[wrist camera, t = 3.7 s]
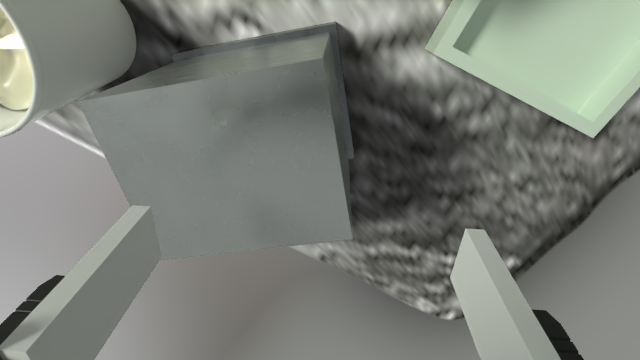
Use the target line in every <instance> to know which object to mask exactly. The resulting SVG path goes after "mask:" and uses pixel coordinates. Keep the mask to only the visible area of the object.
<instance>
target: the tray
mask: <svg viewBox="0 0 640 360" xmlns="http://www.w3.org/2000/svg"><path fill="white" fill-rule="evenodd" d="M425 49H426V50H428V51H429V52H431V53H433V54H434V55H436V56H438V57H440V58H442V59H444V60H446V61H448V62H450V63H451V64H453V65H455V66H457V67H459V68H461V69H463V70H465V71H467V72H468V73H470V74H472V75H474V76H476V77H478V78H480V79H482V80H484V81H486V82H487V83H489V84H491V85H493V86H495V87H497V88H499V89H501V90H503V91H505V92H506V93H508V94H510V95H512V96H514V97H516V98H518V99H520V100H522V101H523V102H525V103H527V104H529V105H531V106H533V107H535V108H537V109H539V110H541V111H542V112H544V113H546V114H548V115H550V116H552V117H554V118H556V119H558V120H560V121H561V122H563V123H565V124H567V125H569V126H571V127H573V128H575V129H577V130H578V131H580V132H582V133H584V134H586V135H588V136H590V137H592V138H594V137H595V136H596V135H597V134H598V132H599V131H600V130H601V129H602V128H603V127H604V126H605V125H606V124H607V123H608V121H609V120H610V119H611V118H612V117H613V116H614V115H615V114H616V113H617V112H618V111H619V109H620V108H621V107H622V106H623V105H624V104H625V103H626V102H627V101H628V100H629V98H630V97H631V96H632V95H633V94H634V93H635V92H636V91H637V90H638V89H639V88H640V0H452V2H451V4H450V5H449V7H448V9H447V11H446V12H445V14H444V16H443V18H442V19H441V21H440V23H439V24H438V26H437V28H436V30H435V31H434V33H433V35H432V37H431V38H430V40H429V42H428V44H427V45H426V47H425Z"/></svg>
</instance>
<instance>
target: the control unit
mask: <svg viewBox="0 0 640 360" xmlns="http://www.w3.org/2000/svg"><path fill="white" fill-rule="evenodd" d="M171 57H172V60H173V63H171V64H169V65H166V66H164V67H161V68H159V69H156V70H154V71H151V72H149V73H147V74H144V75H142V76H139V77H137V78H134V79H132V80H129V81H127V82H124V83H122V84H120V85H117V86H115V87H112V88H110V89H107V90H105V91H102V92H100V93H98V94H95V95H93V96H90V97H88V98H85V99H83V100H80V101H78V103H79V105H80V107H81V109H82V111H83V113H84V115H85V117H86V119H87V121H88V123H89V125H90V127H91V129H92V131H93V133H94V135H95V137H96V139H97V141H98V143H99V145H100V147H101V149H102V151H103V153H104V155H105V157H106V159H107V161H108V162H109V164H110V166H111V168H112V170H113V172H114V174H115V176H116V178H117V180H118V182H119V184H120V186H121V188H122V190H123V192H124V194H125V196H126V198H127V200H128V202H129V204H130V206H132V205H136V206H150V207H151V211H152V215H153V220H154V224H155V229H156V233H157V237H158V242H159V246H160V251H161V255H162V257H161V259H160V260H168V259H177V258H187V257H196V256H205V255H213V254H222V253H232V252H241V251H250V250H259V249H268V248H277V247H286V246H295V245H304V244H314V243H323V242H332V241H341V240H350V239H353V236H352V217H351V198H350V179H349V160H348V159H354V158H355V157H354V147H353V140H352V133H351V126H350V119H349V112H348V105H347V98H346V91H345V84H344V77H343V70H342V63H341V56H340V49H339V42H338V35H337V28H336V22H331V23H326V24H321V25H315V26H310V27H305V28H300V29H294V30H289V31H284V32H279V33H273V34H268V35H263V36H258V37H252V38H247V39H242V40H237V41H231V42H226V43H221V44H216V45H210V46H205V47H200V48H195V49H189V50H184V51H180V52H177V53H174V54H171Z"/></svg>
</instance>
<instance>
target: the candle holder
mask: <svg viewBox="0 0 640 360" xmlns="http://www.w3.org/2000/svg"><path fill="white" fill-rule="evenodd" d="M135 53H136V33H135V29H134V25H133V23H132V20H131V18H130V15H129V13H128V12H127V10H126V8H125V7H124V5H123V4H122V2H121V1H120V0H0V137H5V136H8V135H11V134H13V133H15V132H17V131H19V130H21V129H22V128H23V127H25V126H26V125H28V124H30V123H32V122H34V121H36V120H38V119H40V118H42V117H44V116H46V115H48V114H50V113H51V112H53V111H55V110H57V109H59V108H61V107H63V106H65V105H67V104H69V103H71V102H73V101H75V100H77V99H79V98H81V97H83V96H85V95H87V94H89V93H91V92H93V91H95V90H97V89H99V88H101V87H103V86H105V85H107V84H109V83H110V82H112V81H114V80H116V79H118V78H119V77H121V76H122V75H123V74H124V73H125V72H126V71H127V70H128V69H129V68H130V66H131V64H132V63H133V60H134V57H135Z"/></svg>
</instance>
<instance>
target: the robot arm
mask: <svg viewBox="0 0 640 360" xmlns="http://www.w3.org/2000/svg"><path fill="white" fill-rule="evenodd" d="M161 257H162V255H161V251H160V246H159V242H158V237H157V233H156V229H155V224H154V220H153V215H152V211H151V207H150V206H136V205H132V206H131V207H130V208H129V209H128V210H127V211H126V213H125V214H124V215H123V216H122V217H121V218H120V219H119V220H118V221H117V222H116V223H115V224H114V225H113V226H112V227H111V228H110V230H109V231H108V232H107V233H106V234H105V235H104V236H103V237H102V238H101V239H100V240H99V241H98V242H97V243H96V244H95V245H94V247H93V248H92V249H91V250H90V251H89V252H88V253H87V254H86V255H85V256H84V257H83V258H82V259H81V261H79V262H78V263H77V264H76V266H75V267H74V268H73V269H72V270H71V271H70V272H69V273H68V274H67V275H66V276H60V275H56V276H54V277H53V278H52V279H50V280H48V281H46V282H45V283H43V284H42V285H40V286H39V287H38V288H37V289H36V290H35V291H34V292H33V293H32V294H31V295H30V296H29V297H28V298H27V300H26V301H25V302H23V303H22V304H21V305H20V306H19V307H18V308H17V309H16V311H15V312H13V313H12V314H11V315H10V316H9V317H8V318H7V319H6V320H5V321H4V322H3V323H2V324H1V325H0V360H94V359H95V358H96V356H97V355H98V353H99V351H100V350H101V349H102V347H103V346H104V344H105V343H106V341H107V339H108V338H109V336H110V335H111V333H112V332H113V330H114V329H115V327H116V326H117V324H118V323H119V321H120V320H121V318H122V317H123V315H124V314H125V312H126V310H127V309H128V308H129V306H130V304H131V303H132V301H133V300H134V298H135V297H136V295H137V294H138V292H139V291H140V289H141V288H142V286H143V285H144V283H145V282H146V280H147V279H148V277H149V276H150V274H151V272H152V271H153V269H154V268H155V266H156V265H157V263H158V262H159V260H160V259H161ZM450 279H451V281H452V284H453V287H454V289H455V292H456V295H457V297H458V300H459V303H460V305H461V308H462V311H463V313H464V316H465V319H466V321H467V324H468V327H469V329H470V332H471V335H472V337H473V340H474V342H475V345H476V348H477V350H478V353H479V356H480V358H481V360H584V359H583V358H582V356H581V355H579V354H578V350H577V349H576V347H575V346H574V344H573V342H570V338H569V336H568V335H567V333H566V332H565V330H564V329H563V327H562V326H561V324H560V323H559V322H558V321H557V320H555V319H554V318H553V317H552V316H551V315H550V314H549V313H548V312H547V311H544V310H531V308H530V306H529V305H528V303H527V301H526V299H525V298H524V296H523V294H522V293H521V291H520V290H519V288H518V286H517V284H516V282H515V281H514V279H513V277H512V276H511V274H510V272H509V271H508V269H507V267H506V266H505V264H504V262H503V260H502V259H501V257H500V255H499V254H498V252H497V250H496V249H495V247H494V245H493V244H492V242H491V240H490V238H489V237H488V235H487V233H486V232H485V230H480V229H465V232H464V235H463V238H462V242H461V245H460V248H459V251H458V254H457V257H456V261H455V264H454V267H453V270H452V273H451V276H450Z"/></svg>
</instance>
